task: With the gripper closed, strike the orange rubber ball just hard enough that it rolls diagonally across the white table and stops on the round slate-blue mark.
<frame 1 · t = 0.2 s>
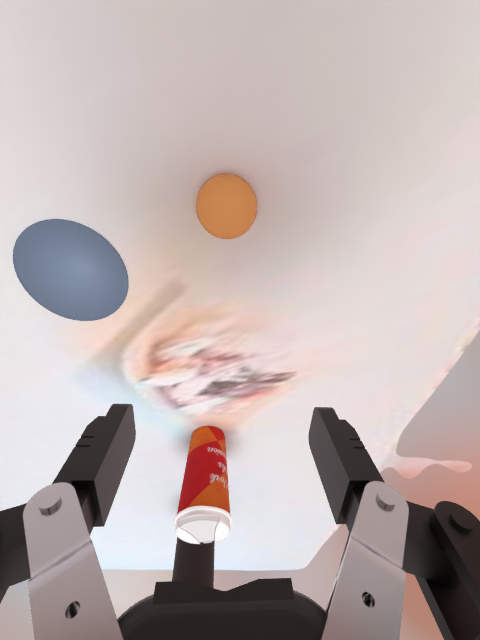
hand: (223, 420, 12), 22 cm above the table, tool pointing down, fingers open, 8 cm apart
ball: (226, 207, 26), on the table
bottle: (199, 495, 57), on the table
paper cup: (208, 435, 48), on the table
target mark: (73, 274, 32), on the table
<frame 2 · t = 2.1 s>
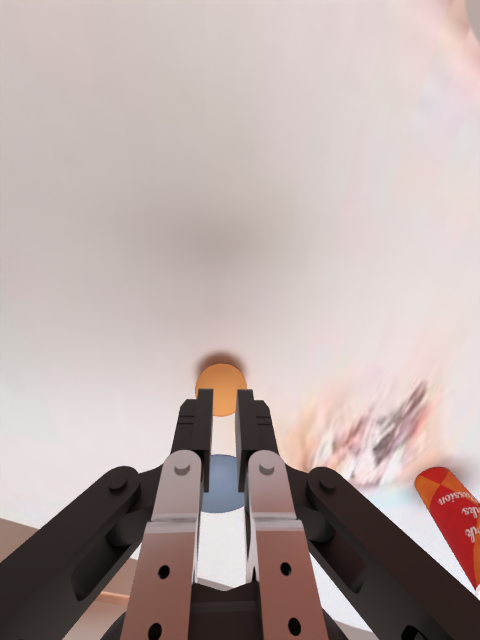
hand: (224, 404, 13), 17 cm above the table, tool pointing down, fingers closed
ball: (221, 389, 30), on the table
paper cup: (431, 478, 43), on the table
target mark: (217, 485, 40), on the table
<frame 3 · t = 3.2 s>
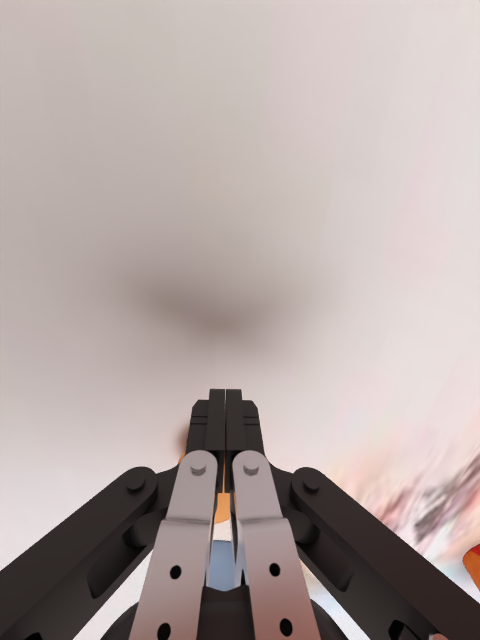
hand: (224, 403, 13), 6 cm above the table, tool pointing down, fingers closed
ball: (213, 477, 21), on the table
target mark: (210, 573, 31), on the table
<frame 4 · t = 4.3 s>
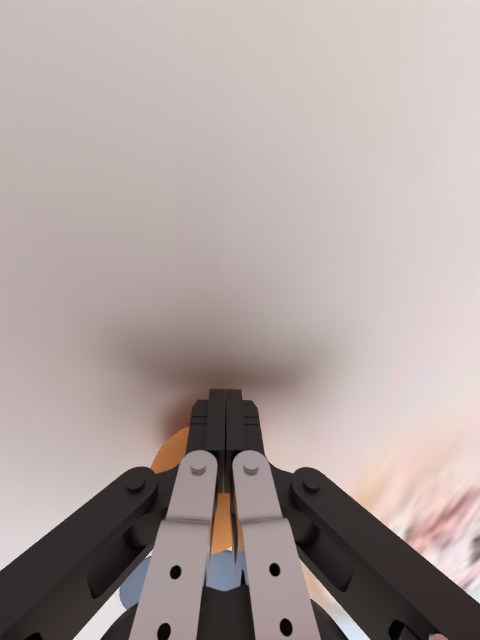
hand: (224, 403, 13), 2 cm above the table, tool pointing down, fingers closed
ball: (206, 481, 14), on the table
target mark: (195, 591, 23), on the table
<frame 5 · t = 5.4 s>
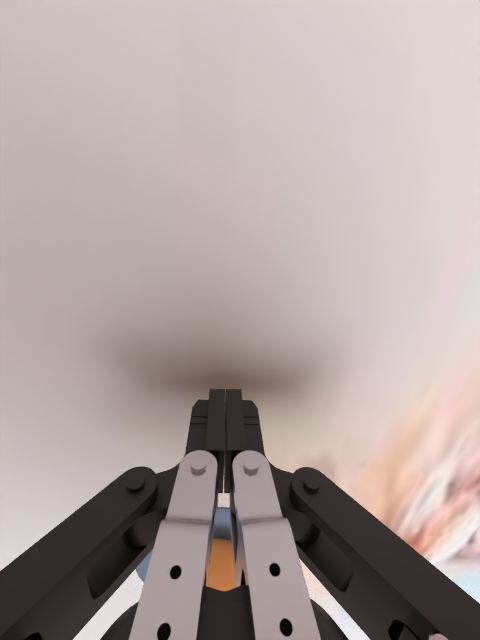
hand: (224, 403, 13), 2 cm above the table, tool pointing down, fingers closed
ball: (215, 593, 18), on the table
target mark: (216, 559, 21), on the table
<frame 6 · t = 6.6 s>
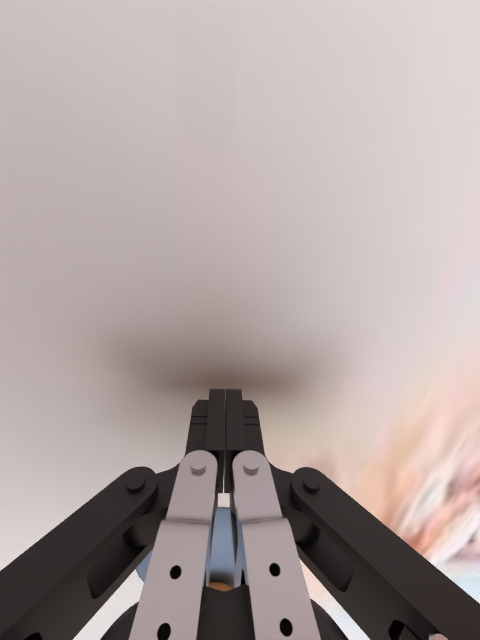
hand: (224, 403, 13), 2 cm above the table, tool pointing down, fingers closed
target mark: (216, 559, 21), on the table
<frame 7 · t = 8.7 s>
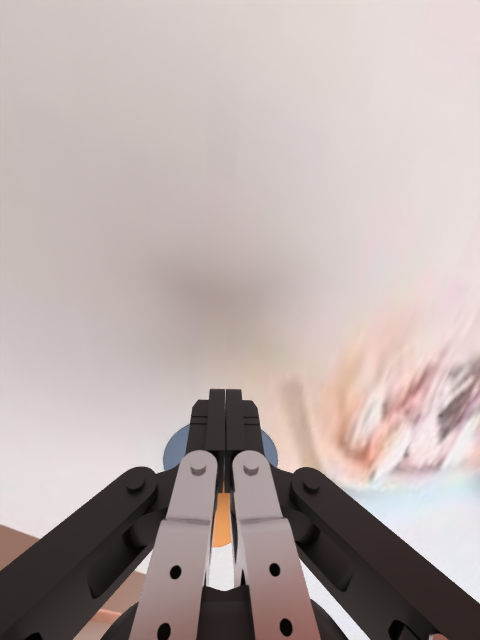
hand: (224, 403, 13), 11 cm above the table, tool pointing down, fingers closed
ball: (217, 511, 28), on the table
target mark: (221, 462, 30), on the table
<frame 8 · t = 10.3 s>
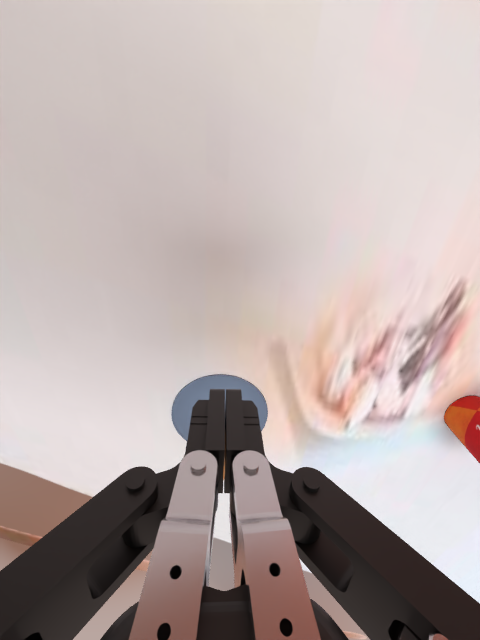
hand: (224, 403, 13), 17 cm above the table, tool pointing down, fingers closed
paper cup: (463, 411, 37), on the table
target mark: (220, 414, 35), on the table
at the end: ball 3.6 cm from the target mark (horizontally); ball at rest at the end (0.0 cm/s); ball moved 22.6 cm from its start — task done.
